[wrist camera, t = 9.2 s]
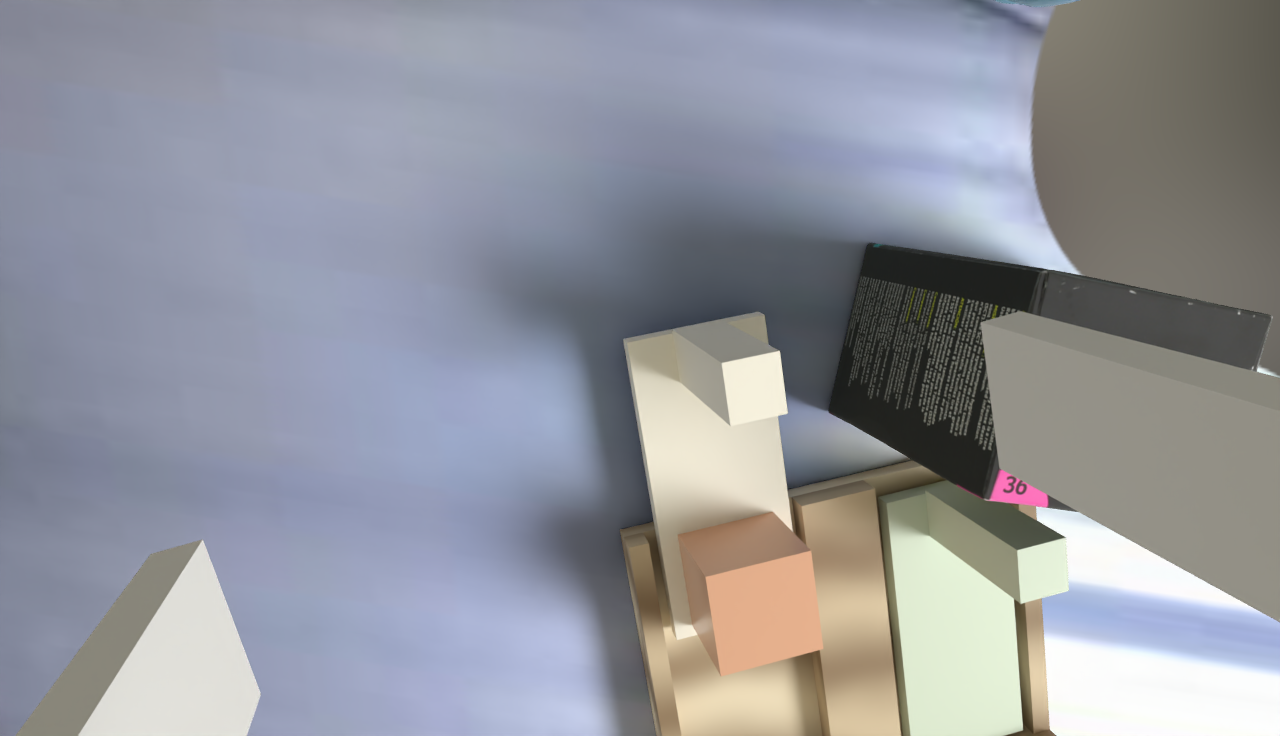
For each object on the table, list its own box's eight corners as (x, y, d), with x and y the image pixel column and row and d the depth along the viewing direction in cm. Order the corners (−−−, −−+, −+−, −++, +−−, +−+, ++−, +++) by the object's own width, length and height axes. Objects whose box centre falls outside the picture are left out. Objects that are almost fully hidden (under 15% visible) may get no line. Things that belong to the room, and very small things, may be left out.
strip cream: (622, 334, 44) (667, 374, 36) (757, 307, 45) (832, 339, 37) (671, 630, 48) (723, 731, 39) (795, 598, 49) (871, 689, 41)
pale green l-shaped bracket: (877, 493, 49) (971, 562, 40) (994, 465, 50) (1109, 526, 41) (904, 751, 53) (996, 865, 44) (1012, 720, 54) (1122, 824, 45)
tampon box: (822, 412, 49) (978, 510, 35) (861, 237, 47) (1040, 266, 33) (1004, 438, 51) (1216, 538, 37) (1046, 273, 50) (1284, 313, 36)
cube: (677, 534, 46) (705, 576, 41) (772, 511, 47) (811, 550, 42) (692, 625, 47) (720, 676, 42) (784, 601, 48) (823, 648, 43)
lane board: (619, 529, 48) (633, 556, 44) (1005, 438, 51) (1045, 456, 48) (672, 825, 52) (688, 870, 49) (1025, 721, 56) (1062, 756, 52)
